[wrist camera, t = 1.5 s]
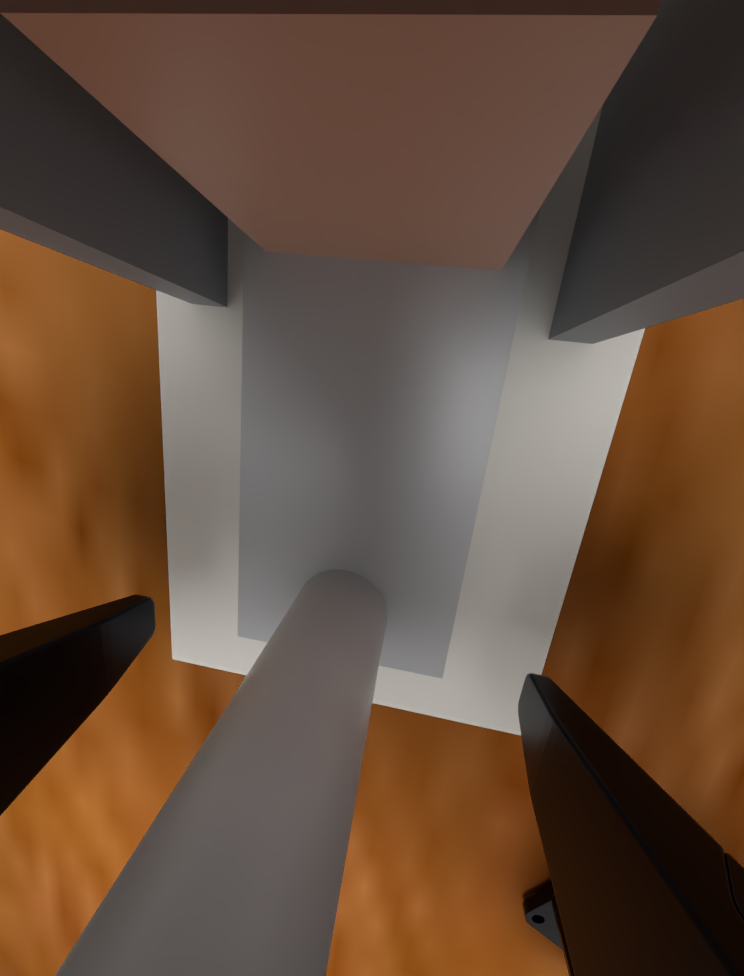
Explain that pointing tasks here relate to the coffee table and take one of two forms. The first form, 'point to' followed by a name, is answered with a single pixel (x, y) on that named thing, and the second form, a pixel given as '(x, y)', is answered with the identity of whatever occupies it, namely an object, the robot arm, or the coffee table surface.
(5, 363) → the coffee table surface
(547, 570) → the board
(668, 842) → the robot arm
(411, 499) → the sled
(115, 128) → the tunnel
